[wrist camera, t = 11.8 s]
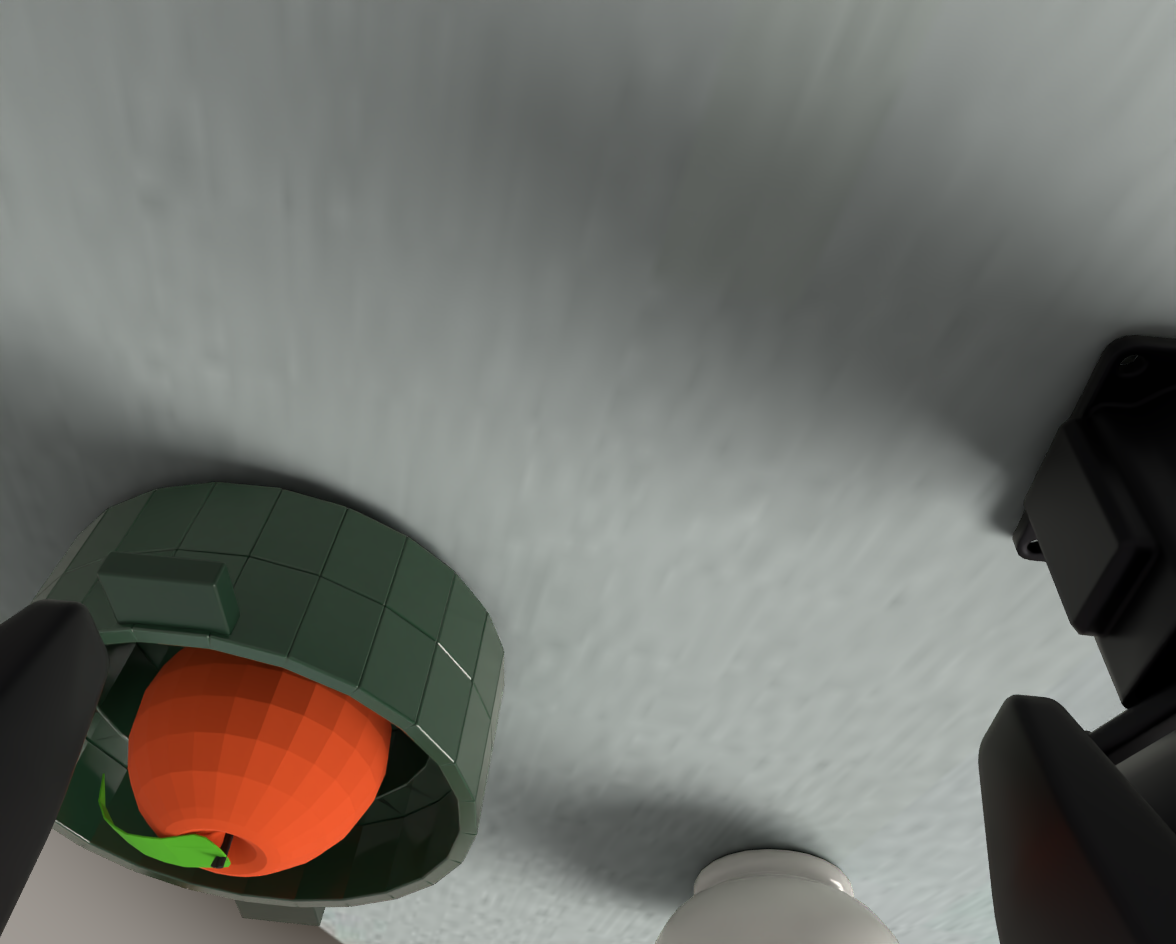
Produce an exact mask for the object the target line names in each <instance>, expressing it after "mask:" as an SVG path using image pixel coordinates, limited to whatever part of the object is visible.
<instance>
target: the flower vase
mask: <svg viewBox="0 0 1176 944" xmlns="http://www.w3.org/2000/svg"><path fill="white" fill-rule="evenodd" d="M655 944H900V943H899V942H898V940H897V939H896V937H895V936H894V934H893V933H892V932H891V931H890V930H889V929H888V927H887V926H886V925H885V924H884V923H883V922H882V921H881V920H880V919H879V918H878V916H877V915H876V914H875V913H874V912H873V911H872V910H871V909H870V908H869V907H868V906H866V905H865V904H863V903H862V902H860V901H859V900H857V899H855V898H854V892H853V889H852V886H851V883H850V881H849V879H848V878H847V877H846V875H845V874H844V873H843V872H842V871H841V870H840V869H839V868H837V867H836V866H834V865H832V864H831V863H829V862H827V861H826V860H824V859H821V858H818V857H815V856H812V855H810V854H806V853H801V852H795V851H790V850H776V849H762V850H749V851H743V852H739V853H734V854H730V855H727V856H725V857H722V858H720V859H717V860H715V861H713V862H712V863H711V864H709V865H708V866H707V867H705V868H704V869H703V870H702V871H701V872H700V874H699V875H698V877H697V879H696V880H695V883H694V896H693V897H692V898H690V899H689V900H687V901H686V902H685V903H684V904H682V905H681V906H680V907H679V908H678V909H677V910H676V911H675V912H674V913H673V915H672V916H671V917H670V919H669V920H668V922H667V923H666V925H665V926H664V928H663V930H662V931H661V933H660V934H659V936H658V938H657V940H656V942H655Z"/></svg>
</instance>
